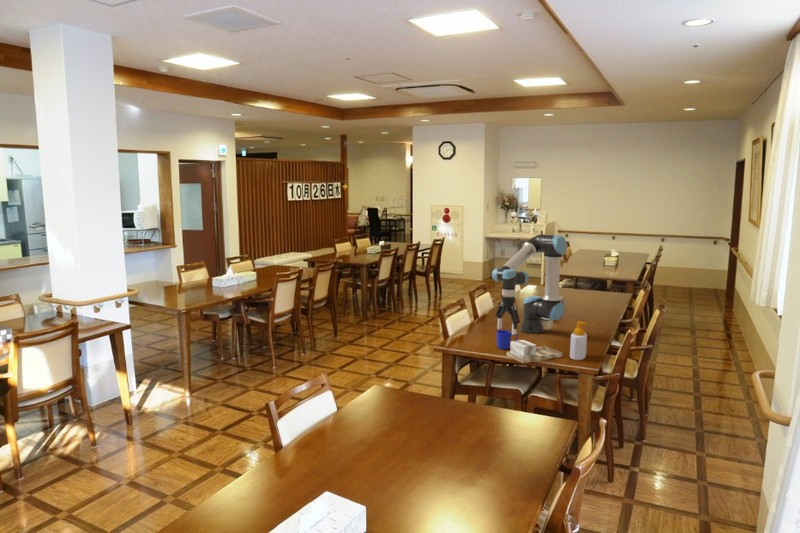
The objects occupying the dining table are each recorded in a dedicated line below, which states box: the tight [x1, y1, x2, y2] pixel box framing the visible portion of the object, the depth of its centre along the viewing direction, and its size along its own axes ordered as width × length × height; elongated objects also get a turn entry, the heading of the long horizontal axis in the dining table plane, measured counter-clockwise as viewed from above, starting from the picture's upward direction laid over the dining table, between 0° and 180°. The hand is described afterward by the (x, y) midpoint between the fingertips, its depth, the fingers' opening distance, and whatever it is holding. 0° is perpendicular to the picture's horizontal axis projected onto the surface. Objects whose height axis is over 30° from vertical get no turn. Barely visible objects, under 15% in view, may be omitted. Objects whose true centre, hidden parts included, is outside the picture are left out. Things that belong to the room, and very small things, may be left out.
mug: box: [496, 329, 518, 350], centre depth 325 cm, size 8×12×10 cm
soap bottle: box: [569, 321, 588, 361], centre depth 309 cm, size 13×8×20 cm, turn 148°
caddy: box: [505, 339, 564, 364], centre depth 311 cm, size 28×15×9 cm, turn 117°
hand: (506, 331), depth 324 cm, fingers open, 13 cm apart
